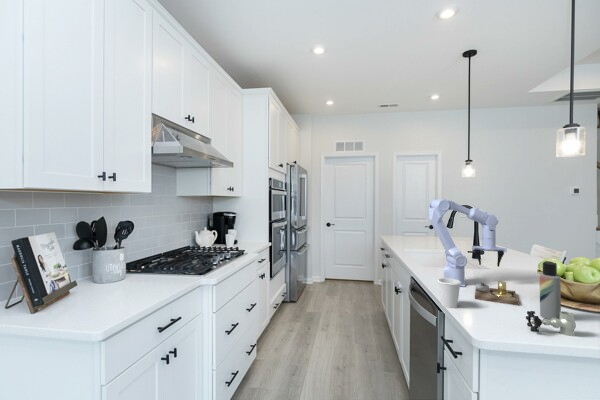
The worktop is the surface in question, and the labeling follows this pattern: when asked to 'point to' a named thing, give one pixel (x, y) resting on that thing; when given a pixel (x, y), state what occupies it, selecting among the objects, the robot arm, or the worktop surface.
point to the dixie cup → (449, 292)
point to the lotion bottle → (550, 291)
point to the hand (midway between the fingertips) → (489, 265)
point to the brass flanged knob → (501, 290)
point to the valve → (553, 322)
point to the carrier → (485, 294)
